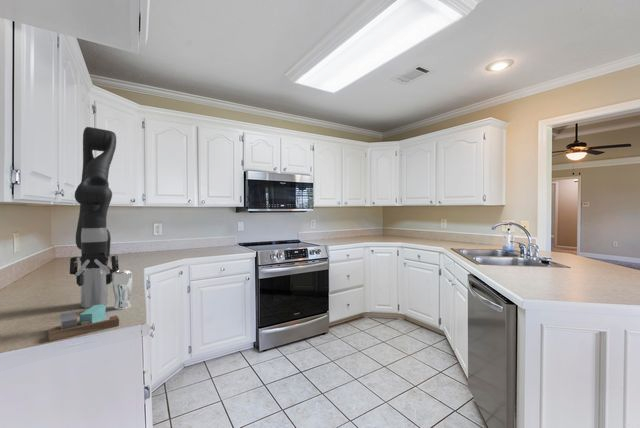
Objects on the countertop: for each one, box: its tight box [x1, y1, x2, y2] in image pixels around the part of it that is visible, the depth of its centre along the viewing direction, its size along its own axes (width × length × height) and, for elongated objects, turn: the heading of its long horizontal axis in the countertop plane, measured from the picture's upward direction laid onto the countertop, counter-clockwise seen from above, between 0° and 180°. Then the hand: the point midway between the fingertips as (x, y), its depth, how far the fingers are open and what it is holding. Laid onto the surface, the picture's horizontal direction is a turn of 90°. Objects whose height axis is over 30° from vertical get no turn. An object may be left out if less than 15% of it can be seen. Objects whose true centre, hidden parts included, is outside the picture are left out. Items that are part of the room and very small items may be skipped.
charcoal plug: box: [60, 310, 78, 330], centre depth 97 cm, size 12×4×5 cm, turn 45°
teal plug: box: [79, 304, 107, 326], centre depth 104 cm, size 12×4×5 cm, turn 15°
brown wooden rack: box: [47, 314, 120, 343], centre depth 96 cm, size 5×18×2 cm, turn 135°
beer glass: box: [112, 269, 134, 311], centre depth 120 cm, size 7×7×15 cm
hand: (95, 284), depth 104 cm, fingers open, 8 cm apart
